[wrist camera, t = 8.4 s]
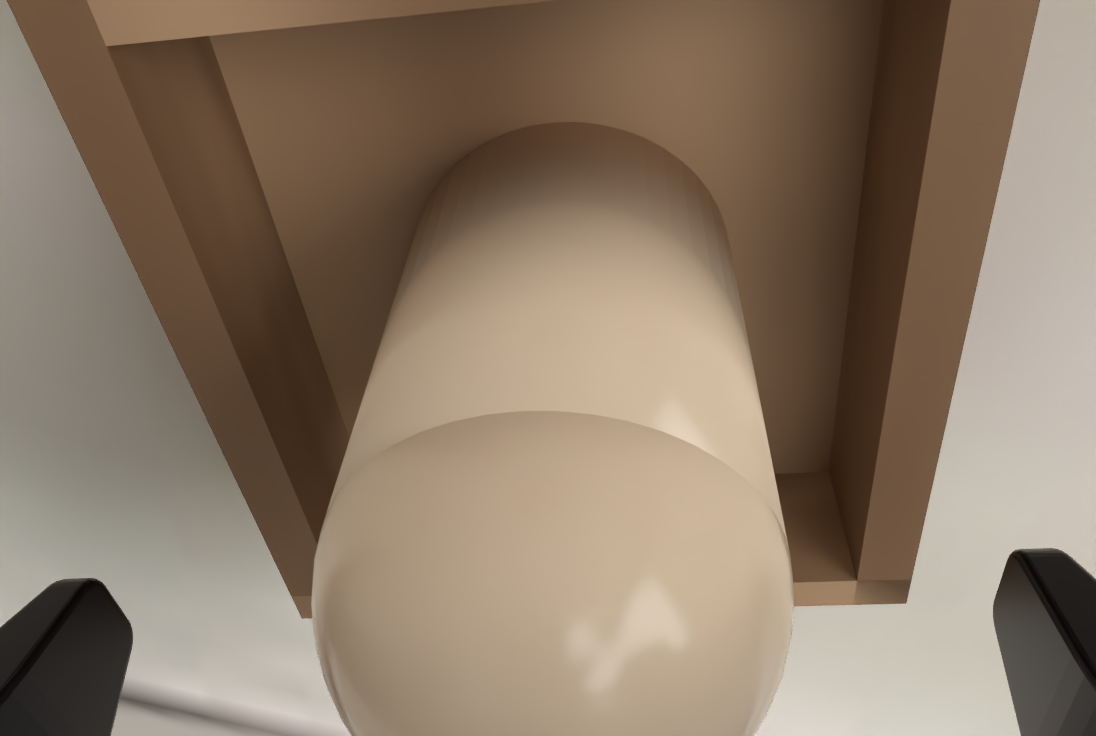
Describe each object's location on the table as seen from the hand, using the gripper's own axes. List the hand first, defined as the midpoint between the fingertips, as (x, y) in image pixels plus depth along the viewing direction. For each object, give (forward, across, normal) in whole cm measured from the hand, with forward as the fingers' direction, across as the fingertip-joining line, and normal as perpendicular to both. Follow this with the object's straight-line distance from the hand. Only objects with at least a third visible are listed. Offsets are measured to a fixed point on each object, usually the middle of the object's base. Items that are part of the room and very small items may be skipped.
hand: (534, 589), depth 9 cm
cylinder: (+6, 0, 0) cm, 6 cm away
